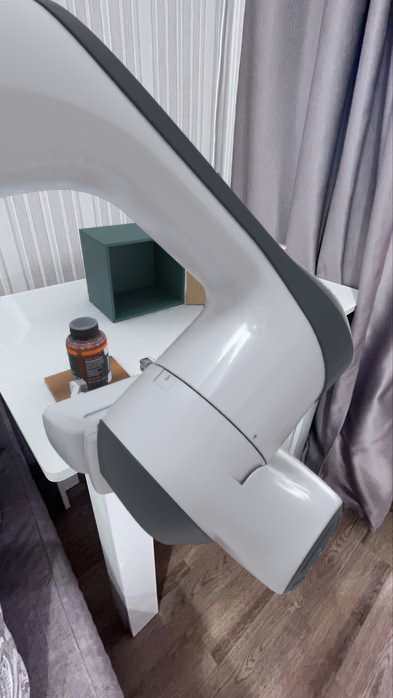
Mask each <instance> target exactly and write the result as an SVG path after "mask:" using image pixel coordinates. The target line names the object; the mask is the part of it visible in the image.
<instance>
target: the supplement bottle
mask: <svg viewBox="0 0 393 698" xmlns="http://www.w3.org/2000/svg"><path fill="white" fill-rule="evenodd" d="M68 327H69V334H68V335H67V336H66V338H65V348H66V353H67V358H68V363H69V369H71V373H72V377H73V381H74V380H78V379H81V378H82V379H83V381H85V382H86V383H87V391H88V392H89V391H92V390H95V389H97V388H100V387H103V386H106V385H109V384H111V382H112V375H111V367H110V360H109V356H110V353H109V352H110V351H109V346H108V339H107V335H106V334H105V332H104V331H102V330H101V329H100V326H99V322H98V319H96V318H94V317H91V316H81V317H77V318H75V319H73V320H71V321H70V322H69V324H68Z"/></svg>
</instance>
